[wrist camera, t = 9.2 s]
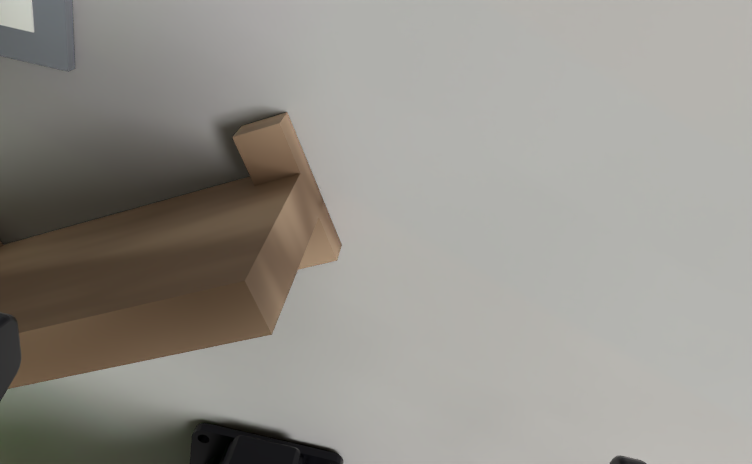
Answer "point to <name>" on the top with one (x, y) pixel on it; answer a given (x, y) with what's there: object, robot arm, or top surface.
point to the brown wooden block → (170, 267)
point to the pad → (38, 32)
